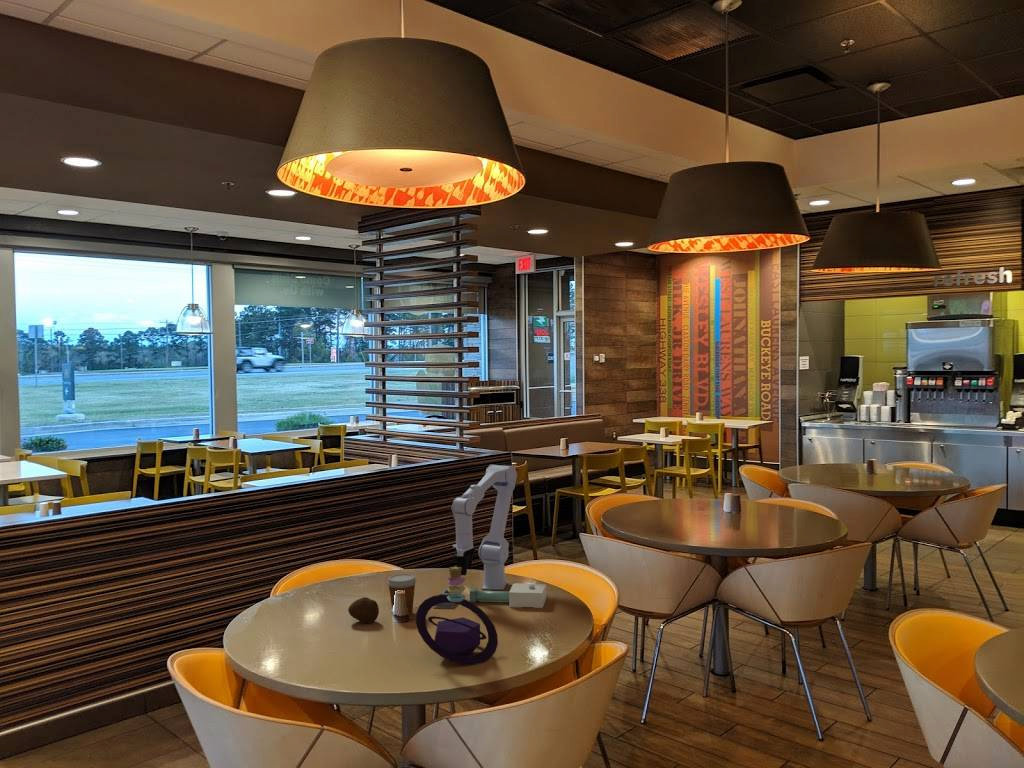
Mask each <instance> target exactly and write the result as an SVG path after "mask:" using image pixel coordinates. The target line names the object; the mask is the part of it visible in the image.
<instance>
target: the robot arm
mask: <svg viewBox="0 0 1024 768" xmlns="http://www.w3.org/2000/svg"><path fill="white" fill-rule="evenodd" d="M517 477H518V472H517V470H516V468H515V466H513V465H502V464H501V465H500V464H499V465H498V464H492V463H491V464H489V465H488V467H487V468H486V470H485V474H484V476H483V477H482V478H481V480H480V481H479V482H478V483H477V484H471V485H470V486H469V488H468V489H466V491H465V492H464V493H463V494H462V495H461V496H460V497H459V496H458V497H456V498H455V499H453V501H452V505H451V507H450V508H451V512H452V514H453V518H454V521H455V544H452V548H454V549H456V553H454V554H453V555H452V558H453V559H454V562H455V563H456V567H461V568H462V570H461V576H467V573H468V570H471V569H472V563H473V557H474V555H475V551H476V550H477V547H476V546H474V544H473V543H474V538H473V537H474V535H473V514H475V511H476V507H478V506H477V505H478V504H479V503H480V501H482V499H483V498H484V497H485V492H486V491H487V490H488V489H490V487H493V488H494V489H495V490H496V491H497V494H496V495H497V496H496V499H495V505H494V509H493V514H492V515H493V516H492V519H491V524H490V528H489V529H490V530H489V533H488V534H487V535H486V536H484V537H483V538H482V541H481V544H480V546H479V547H478V557H479V559H480V560H481V563H483V579H484V580H483V581H484V583H483V586H482V587H481V590H492V591H493V590H494V591H495V590H498V591H501V590H502V591H503V590H505V588H506V586H507V584H508V580H506V579H505V578H506V577H505V576H506V574H505V573H506V571H505V563H506V561H507V560H508V558H509V554H510V553H509V546H510V543H509V542H508V540H507V539H506V538H505V537H504V536H505V531H506V526H507V520H508V516H509V512H510V505H511V500H512V496H513V491H514V490H515V487H516V483H517Z"/></svg>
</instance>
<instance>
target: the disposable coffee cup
mask: <svg viewBox="0 0 1024 768" xmlns="http://www.w3.org/2000/svg"><path fill="white" fill-rule="evenodd" d="M416 582H417V579H416V576H415V574H414V575H413V574H410V573H397V574H396V573H395V574H394V575H393V574H392V575H391V576H389V577H388V578H387V582H386V583H387V586H388V591H389V596H390V601H391V608H392V609H391V610H392V611H393V605H394V595H395V591H397V590H403V591H404V590H405V593H406V599H407V608H408V613H409V615H408V616H411V615H412V614H413V610H414V601H415V600H414V597H415V589H416V588H415V586H416Z"/></svg>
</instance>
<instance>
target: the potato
mask: <svg viewBox="0 0 1024 768" xmlns="http://www.w3.org/2000/svg"><path fill="white" fill-rule="evenodd" d="M347 611H348V614H349V615H350V616H351V618H353V619H355V620H356V621H359V622H361V623H364V624H365V623H366V624H372V623H374V622H376V620H377V619H378V617H379V613H380V607H379V605H378V603H377V601H376V600H374V599H371V598H369V597H367V596H365V597H364V596H363V597H360V598H359V599H357V600H356V599H355V600H354V601H353V602H352V603H351V604H350V605H349V606H348V610H347Z"/></svg>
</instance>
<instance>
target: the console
mask: <svg viewBox="0 0 1024 768" xmlns="http://www.w3.org/2000/svg"><path fill="white" fill-rule="evenodd" d="M446 589H447V588H444V589H443V590H442V592H441V593H440V594H439V595H444V594H448V595H452V594H450V593H446ZM454 590H457V589H454ZM457 594H461V593H457ZM455 606H456V604H455V603H440V604H437V605H435V606H433V607H432V609H448V610H450V609H453V608H455Z"/></svg>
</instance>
